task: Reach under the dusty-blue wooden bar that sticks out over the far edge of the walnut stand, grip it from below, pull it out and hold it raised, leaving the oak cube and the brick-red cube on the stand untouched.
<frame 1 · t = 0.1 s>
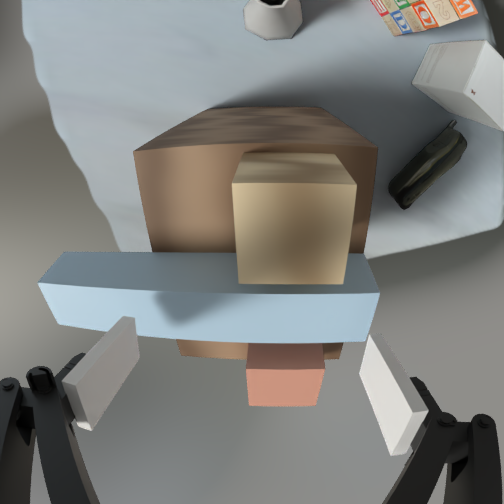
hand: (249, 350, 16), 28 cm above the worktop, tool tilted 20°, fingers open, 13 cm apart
flask: (273, 15, 28), on the worktop
walnut stand: (265, 174, 39), on the worktop
mobile phone: (423, 157, 36), on the worktop
supplement box: (440, 78, 29), on the worktop
oak cube: (288, 194, 17), point 22 cm above the worktop, touching walnut stand
blue bar: (199, 277, 21), point 22 cm above the worktop, touching walnut stand
brick cube: (283, 337, 24), point 22 cm above the worktop, touching walnut stand
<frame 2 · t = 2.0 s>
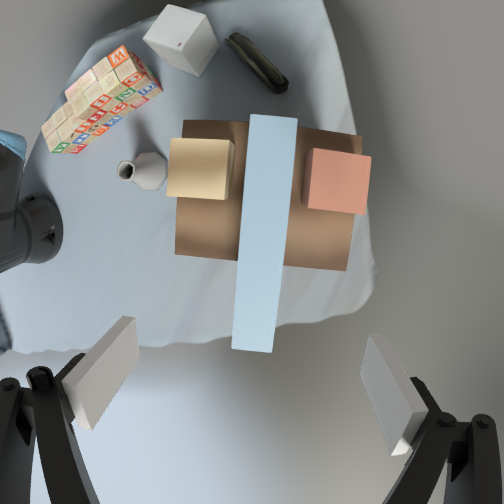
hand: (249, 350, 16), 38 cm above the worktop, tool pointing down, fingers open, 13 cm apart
flask: (150, 171, 52), on the worktop
walnut stand: (267, 187, 51), on the worktop
mobile phone: (255, 64, 46), on the worktop
supplement box: (193, 55, 46), on the worktop
stack of blocks: (111, 110, 49), on the worktop
oak cube: (208, 169, 29), point 22 cm above the worktop, touching walnut stand
blue bar: (263, 233, 31), point 22 cm above the worktop, touching walnut stand
brick cube: (329, 180, 29), point 22 cm above the worktop, touching walnut stand
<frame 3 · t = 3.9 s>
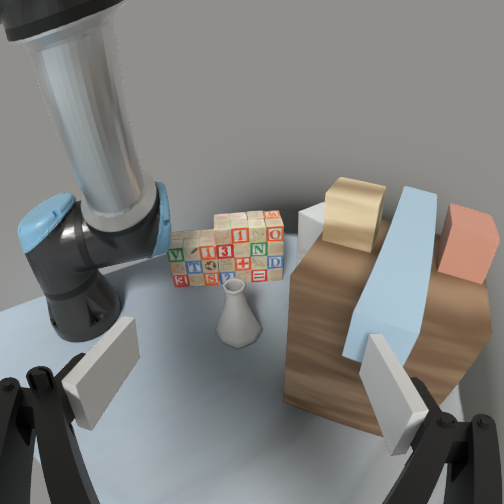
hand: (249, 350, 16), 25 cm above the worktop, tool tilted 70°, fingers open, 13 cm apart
flask: (239, 332, 49), on the worktop
walnut stand: (360, 384, 39), on the worktop
supplement box: (320, 268, 62), on the worktop
stack of blocks: (228, 275, 62), on the worktop
oak cube: (352, 234, 30), point 22 cm above the worktop, touching walnut stand
blue bar: (402, 271, 25), point 22 cm above the worktop, touching gripper
brick cube: (459, 263, 25), point 22 cm above the worktop, touching walnut stand
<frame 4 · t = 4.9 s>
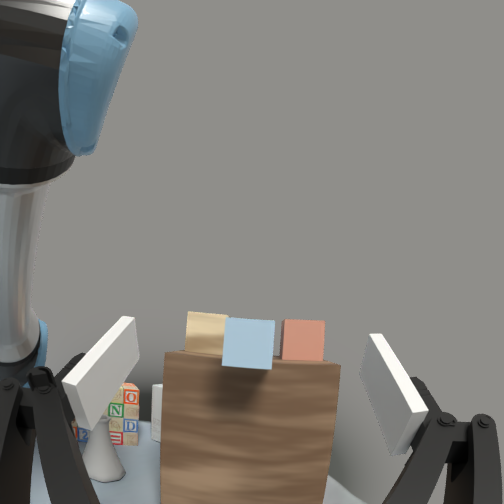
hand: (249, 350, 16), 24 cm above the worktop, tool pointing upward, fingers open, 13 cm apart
flask: (101, 473, 32), on the worktop
supplement box: (174, 441, 53), on the worktop
stack of blocks: (84, 437, 44), on the worktop
oak cube: (207, 352, 38), point 22 cm above the worktop, touching walnut stand
blue bar: (253, 358, 34), point 22 cm above the worktop, touching walnut stand
brick cube: (299, 359, 37), point 22 cm above the worktop, touching walnut stand
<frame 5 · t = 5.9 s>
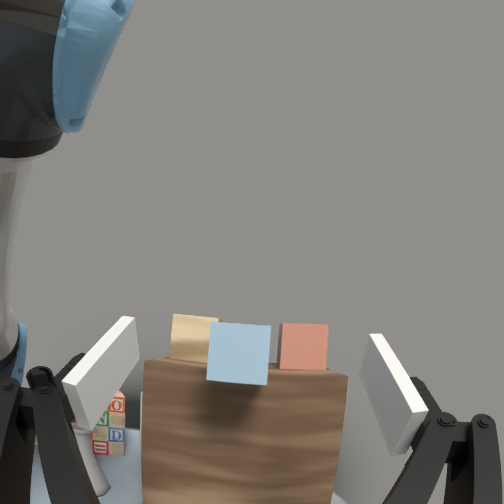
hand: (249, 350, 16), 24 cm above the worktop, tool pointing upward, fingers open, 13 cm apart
flask: (84, 487, 27), on the worktop
stack of blocks: (68, 446, 39), on the worktop
oak cube: (196, 359, 33), point 22 cm above the worktop, touching walnut stand
blue bar: (246, 368, 29), point 22 cm above the worktop, touching walnut stand
brick cube: (299, 367, 33), point 22 cm above the worktop, touching walnut stand
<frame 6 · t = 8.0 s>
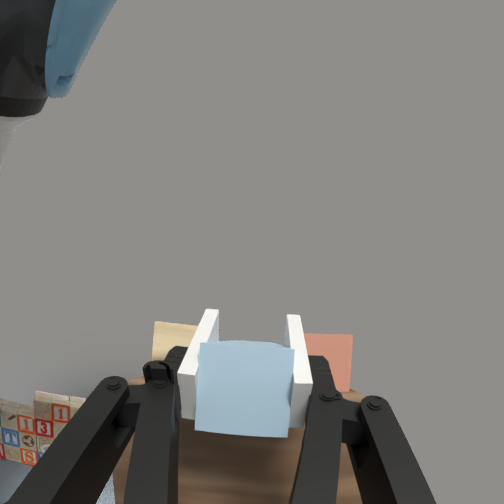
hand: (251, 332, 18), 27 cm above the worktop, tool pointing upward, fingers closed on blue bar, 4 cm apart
stack of blocks: (48, 462, 32), on the worktop
oak cube: (185, 378, 26), point 22 cm above the worktop, touching walnut stand
blue bar: (249, 392, 22), point 22 cm above the worktop, touching gripper, walnut stand
brick cube: (315, 387, 25), point 22 cm above the worktop, touching walnut stand
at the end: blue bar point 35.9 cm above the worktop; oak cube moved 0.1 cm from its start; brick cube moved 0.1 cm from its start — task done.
